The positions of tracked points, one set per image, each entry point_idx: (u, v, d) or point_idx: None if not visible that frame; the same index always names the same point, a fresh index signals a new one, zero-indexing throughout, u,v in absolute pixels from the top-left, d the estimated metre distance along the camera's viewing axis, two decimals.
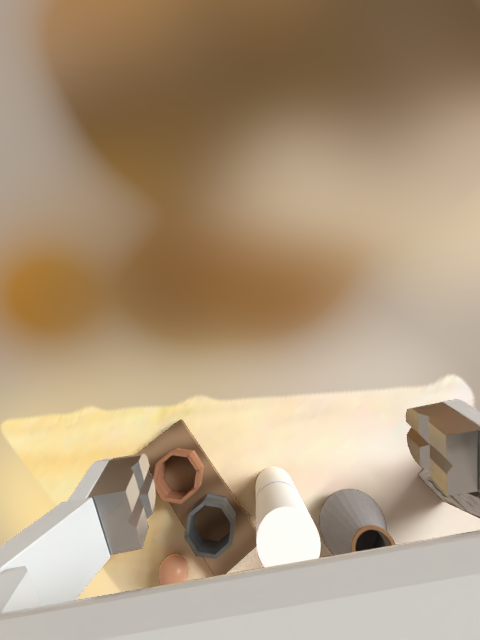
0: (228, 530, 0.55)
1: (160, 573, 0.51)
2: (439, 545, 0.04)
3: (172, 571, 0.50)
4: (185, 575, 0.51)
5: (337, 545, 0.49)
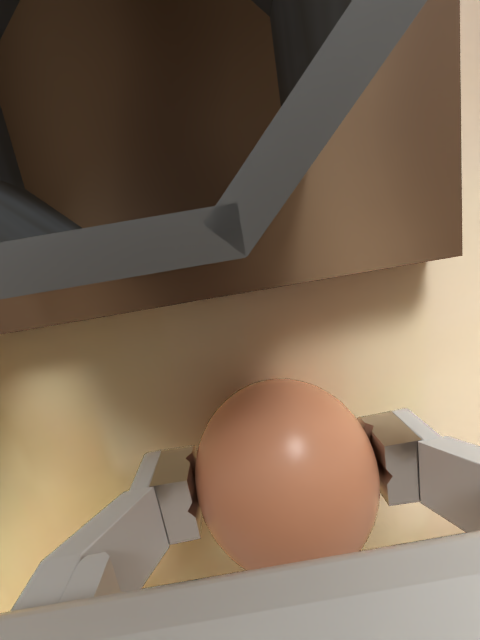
0: (259, 34, 0.07)
1: None
2: (439, 545, 0.04)
3: (270, 510, 0.06)
4: (341, 421, 0.07)
5: None
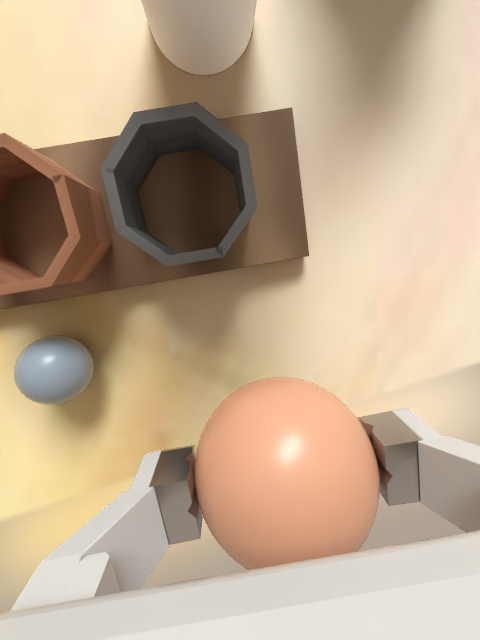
0: (230, 180, 0.21)
1: None
2: (439, 545, 0.04)
3: (270, 508, 0.06)
4: (341, 419, 0.07)
5: None
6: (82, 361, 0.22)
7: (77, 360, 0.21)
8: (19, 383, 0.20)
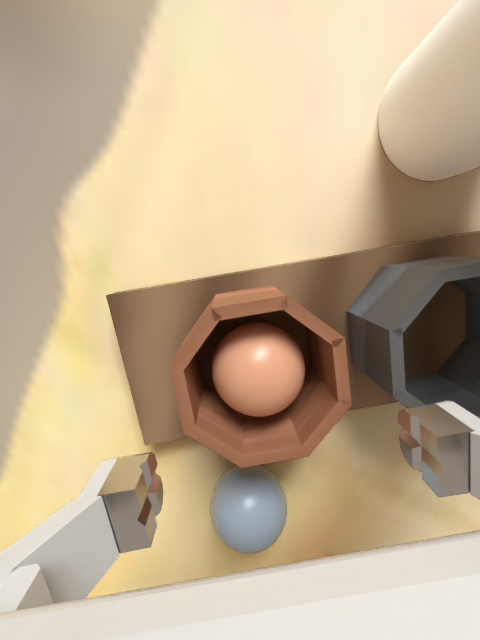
0: (460, 300, 0.19)
1: (236, 407, 0.15)
2: (439, 545, 0.04)
3: (248, 370, 0.14)
4: (284, 337, 0.15)
5: None
6: (284, 501, 0.19)
7: (282, 503, 0.19)
8: (228, 537, 0.18)
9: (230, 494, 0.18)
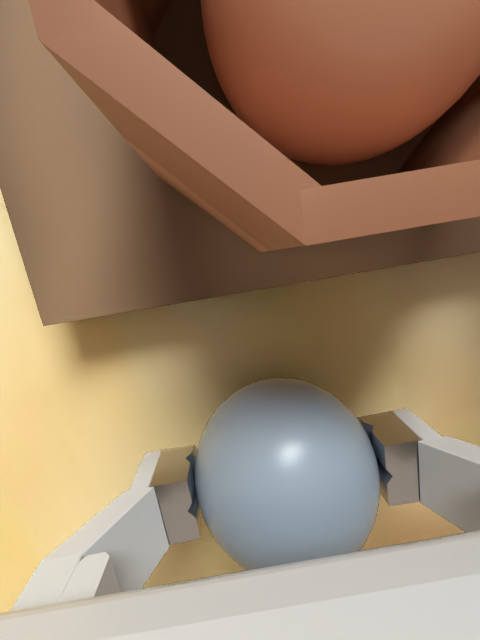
0: None
1: (307, 23, 0.04)
2: (439, 545, 0.04)
3: None
4: None
5: None
6: (374, 454, 0.08)
7: (373, 455, 0.08)
8: (241, 541, 0.06)
9: (244, 429, 0.07)
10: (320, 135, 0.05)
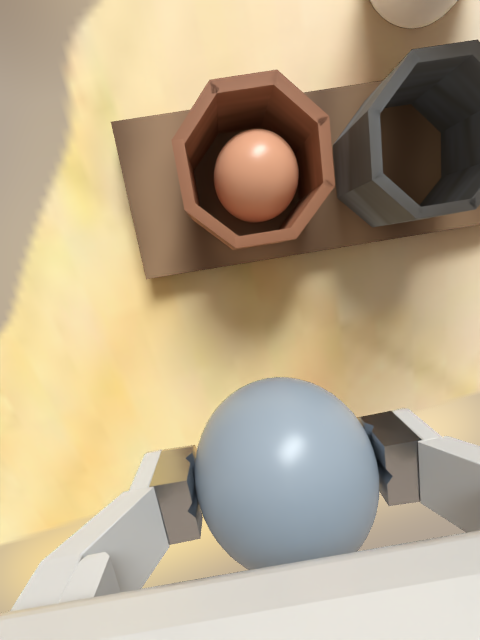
0: (436, 138, 0.20)
1: (240, 199, 0.16)
2: (439, 545, 0.04)
3: (252, 151, 0.15)
4: (281, 137, 0.17)
5: None
6: (374, 453, 0.08)
7: (373, 454, 0.08)
8: (240, 540, 0.07)
9: (244, 428, 0.07)
10: (247, 218, 0.18)
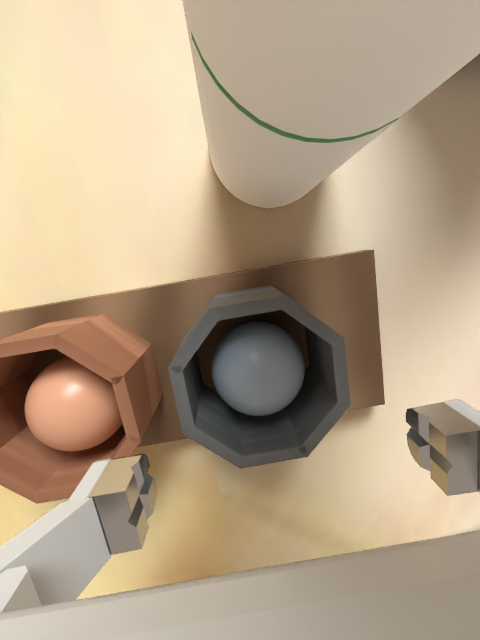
0: (299, 327, 0.18)
1: (48, 445, 0.15)
2: (439, 545, 0.04)
3: (48, 410, 0.14)
4: None
5: None
6: (302, 356, 0.16)
7: (300, 354, 0.15)
8: (234, 386, 0.14)
9: (236, 339, 0.15)
10: None
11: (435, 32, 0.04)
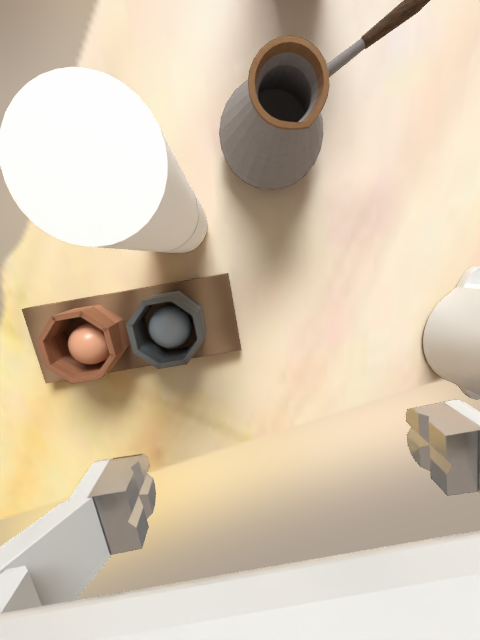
0: None
1: (79, 360, 0.35)
2: (439, 545, 0.04)
3: (80, 343, 0.34)
4: None
5: (272, 164, 0.30)
6: (188, 320, 0.35)
7: (186, 319, 0.35)
8: (156, 331, 0.34)
9: (158, 312, 0.35)
10: None
11: (154, 250, 0.24)
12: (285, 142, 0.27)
